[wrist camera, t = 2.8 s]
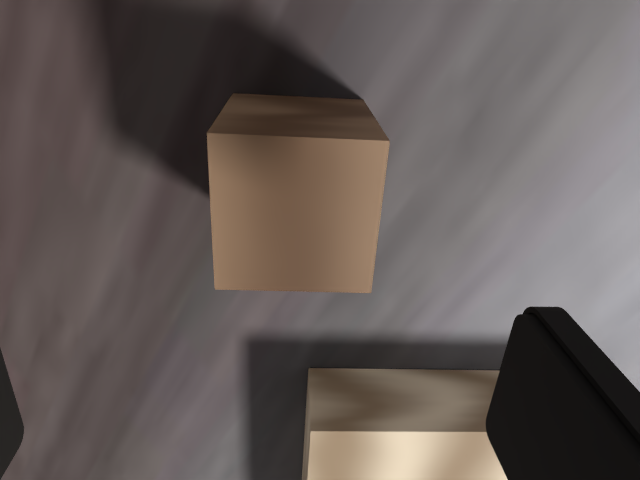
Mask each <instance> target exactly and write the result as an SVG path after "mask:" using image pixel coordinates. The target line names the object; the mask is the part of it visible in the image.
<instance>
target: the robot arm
mask: <svg viewBox="0 0 640 480" xmlns="http://www.w3.org/2000/svg"><path fill="white" fill-rule="evenodd" d="M486 432H487V436H488V439H489V441H490V443H491V445H492V447H493V449H494V452H495V454H496V456H497V458H498V460H499V462H500V464H501V466H502V469H503V471H504V473H505V475H506V477H507V479H508V480H640V392H639V391H638V390H637V389H636V388H635V386H634V385H633V384H632V383H631V382H630V381H629V380H628V379H627V378H626V377H625V375H624V374H623V373H622V372H621V371H620V370H619V369H618V368H617V367H616V366H615V365H614V363H613V362H612V361H611V360H610V359H609V358H608V357H607V356H606V355H605V354H604V352H603V351H602V350H601V349H600V348H599V347H598V346H597V345H596V344H595V343H594V342H593V340H592V339H591V338H590V337H589V336H588V335H587V334H586V333H585V332H584V331H583V329H582V328H581V327H580V326H579V325H578V324H577V323H576V322H575V321H574V320H573V319H572V317H571V316H570V315H569V314H568V313H567V312H566V311H565V310H564V309H562V308H560V307H528V308H526V310H525V311H524V312H523V314H520V315H517V317H516V318H515V320H514V323H513V326H512V330H511V333H510V337H509V340H508V344H507V347H506V351H505V354H504V357H503V361H502V364H501V368H500V371H499V375H498V378H497V382H496V385H495V389H494V392H493V396H492V399H491V403H490V406H489V410H488V413H487V416H486ZM23 434H24V426H23V422H22V418H21V415H20V412H19V408H18V405H17V402H16V398H15V395H14V392H13V389H12V385H11V382H10V379H9V375H8V372H7V369H6V365H5V362H4V359H3V355H2V352H1V349H0V479H1V478H2V476H3V474H4V472H5V471H6V469H7V467H8V466H9V464H10V462H11V461H12V459H13V457H14V455H15V454H16V452H17V450H18V449H19V447H20V445H21V442H22V439H23Z"/></svg>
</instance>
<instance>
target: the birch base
mask: <svg viewBox="0 0 640 480" xmlns="http://www.w3.org/2000/svg"><path fill="white" fill-rule="evenodd" d="M499 371H500V370H427V369H347V368H308V385H307V401H306V418H305V435H304V452H303V468H302V480H508V479H507V477H506V475H505V473H504V471H503V469H502V466H501V464H500V462H499V460H498V458H497V456H496V454H495V452H494V449H493V447H492V445H491V443H490V441H489V439H488V436H487V432H486V416H487V413H488V410H489V406H490V403H491V399H492V396H493V392H494V389H495V385H496V382H497V378H498V375H499Z"/></svg>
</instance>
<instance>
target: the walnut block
mask: <svg viewBox="0 0 640 480" xmlns="http://www.w3.org/2000/svg"><path fill="white" fill-rule="evenodd" d="M389 143H390V141H389V139H388V137H387V136H386V134H385V133H384V131H383V130H382V128H381V127H380V125H379V124H378V122H377V120H376V119H375V117H374V116H373V114H372V113H371V111H370V110H369V108H368V106H367V105H366V103H365V102H364V100H362V99H341V98H320V97H300V96H279V95H259V94H238V93H233V94H232V95H231V97H230V98H229V100H228V101H227V103H226V104H225V106H224V107H223V109H222V110H221V112H220V114H219V115H218V117H217V118H216V120H215V121H214V123H213V124H212V126H211V127H210V129H209V130H208V132H207V149H208V168H209V187H210V206H211V226H212V245H213V264H214V284H215V289H220V290H264V291H307V292H351V293H371V289H372V281H373V273H374V265H375V257H376V249H377V240H378V232H379V224H380V216H381V208H382V200H383V192H384V184H385V176H386V167H387V159H388V151H389Z"/></svg>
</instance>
